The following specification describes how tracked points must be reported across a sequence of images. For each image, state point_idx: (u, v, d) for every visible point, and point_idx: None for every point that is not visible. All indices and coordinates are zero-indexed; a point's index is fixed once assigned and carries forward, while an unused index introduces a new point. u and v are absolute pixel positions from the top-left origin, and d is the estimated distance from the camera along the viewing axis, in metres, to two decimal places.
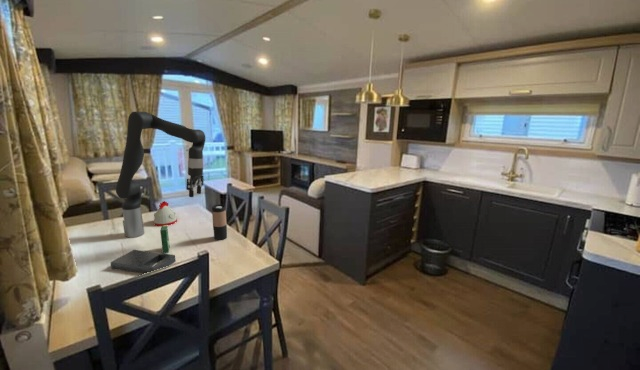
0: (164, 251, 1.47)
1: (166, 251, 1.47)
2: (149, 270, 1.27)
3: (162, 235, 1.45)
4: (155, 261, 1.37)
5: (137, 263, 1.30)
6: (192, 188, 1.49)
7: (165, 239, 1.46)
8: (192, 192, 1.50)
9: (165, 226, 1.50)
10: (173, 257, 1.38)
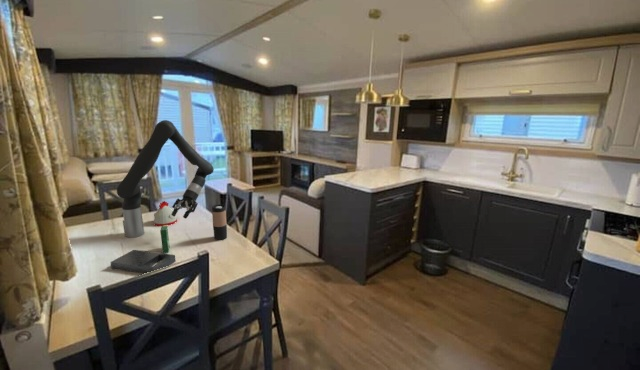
0: (164, 251, 1.47)
1: (166, 251, 1.47)
2: (149, 270, 1.27)
3: (162, 235, 1.45)
4: (155, 261, 1.37)
5: (137, 263, 1.30)
6: None
7: (165, 239, 1.46)
8: None
9: (165, 226, 1.50)
10: (173, 257, 1.38)
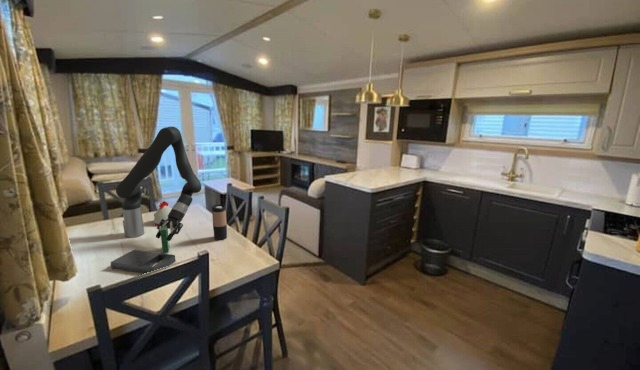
0: (164, 251, 1.47)
1: (166, 251, 1.47)
2: (149, 270, 1.27)
3: (162, 235, 1.45)
4: (155, 261, 1.37)
5: (137, 263, 1.30)
6: None
7: (165, 239, 1.46)
8: None
9: (165, 226, 1.50)
10: (173, 257, 1.38)
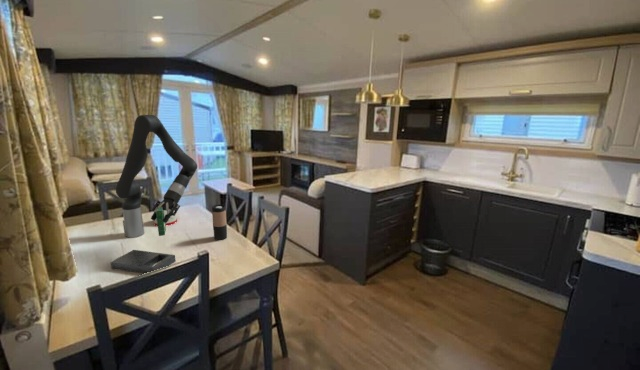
0: (160, 233, 1.39)
1: (162, 233, 1.39)
2: (149, 270, 1.27)
3: (158, 216, 1.37)
4: (155, 261, 1.37)
5: (137, 263, 1.30)
6: None
7: (161, 221, 1.38)
8: None
9: (161, 207, 1.41)
10: (173, 257, 1.38)
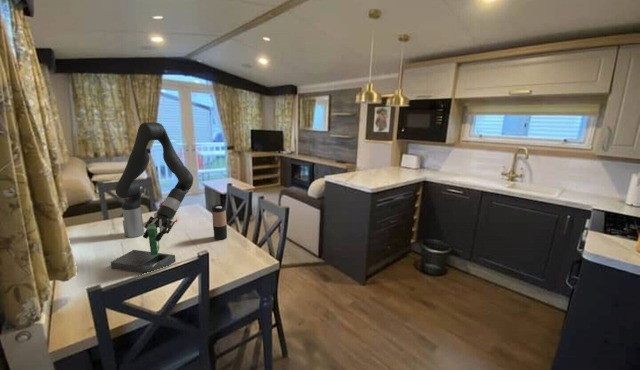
0: (152, 253, 1.28)
1: (155, 253, 1.29)
2: (149, 270, 1.27)
3: (150, 235, 1.26)
4: (155, 261, 1.37)
5: (137, 263, 1.30)
6: None
7: (153, 239, 1.27)
8: None
9: (154, 224, 1.31)
10: (173, 257, 1.38)
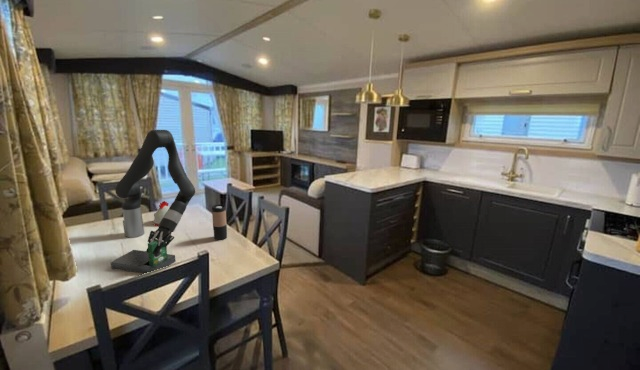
0: None
1: None
2: (149, 270, 1.27)
3: (149, 249, 1.29)
4: None
5: (137, 263, 1.30)
6: None
7: (151, 254, 1.29)
8: None
9: None
10: (173, 257, 1.38)
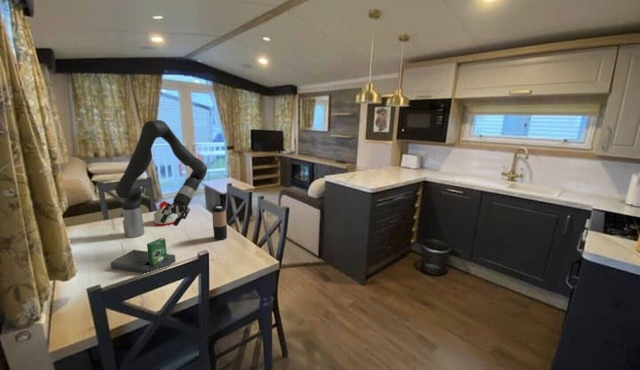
0: None
1: None
2: (149, 270, 1.27)
3: (148, 249, 1.29)
4: None
5: (137, 263, 1.30)
6: None
7: (150, 255, 1.29)
8: None
9: (160, 240, 1.33)
10: (173, 257, 1.38)
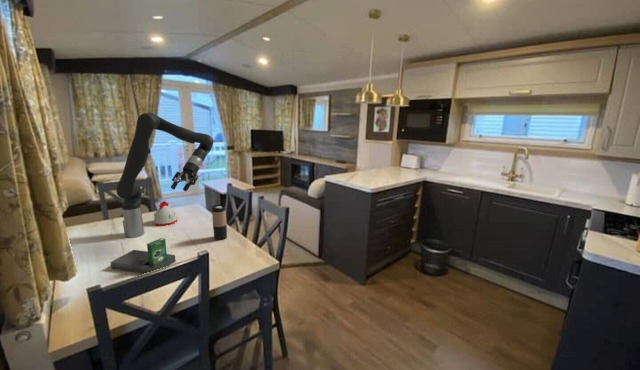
0: None
1: None
2: (149, 270, 1.27)
3: (148, 249, 1.29)
4: None
5: (137, 263, 1.30)
6: None
7: (150, 255, 1.29)
8: None
9: (160, 240, 1.33)
10: (173, 257, 1.38)
